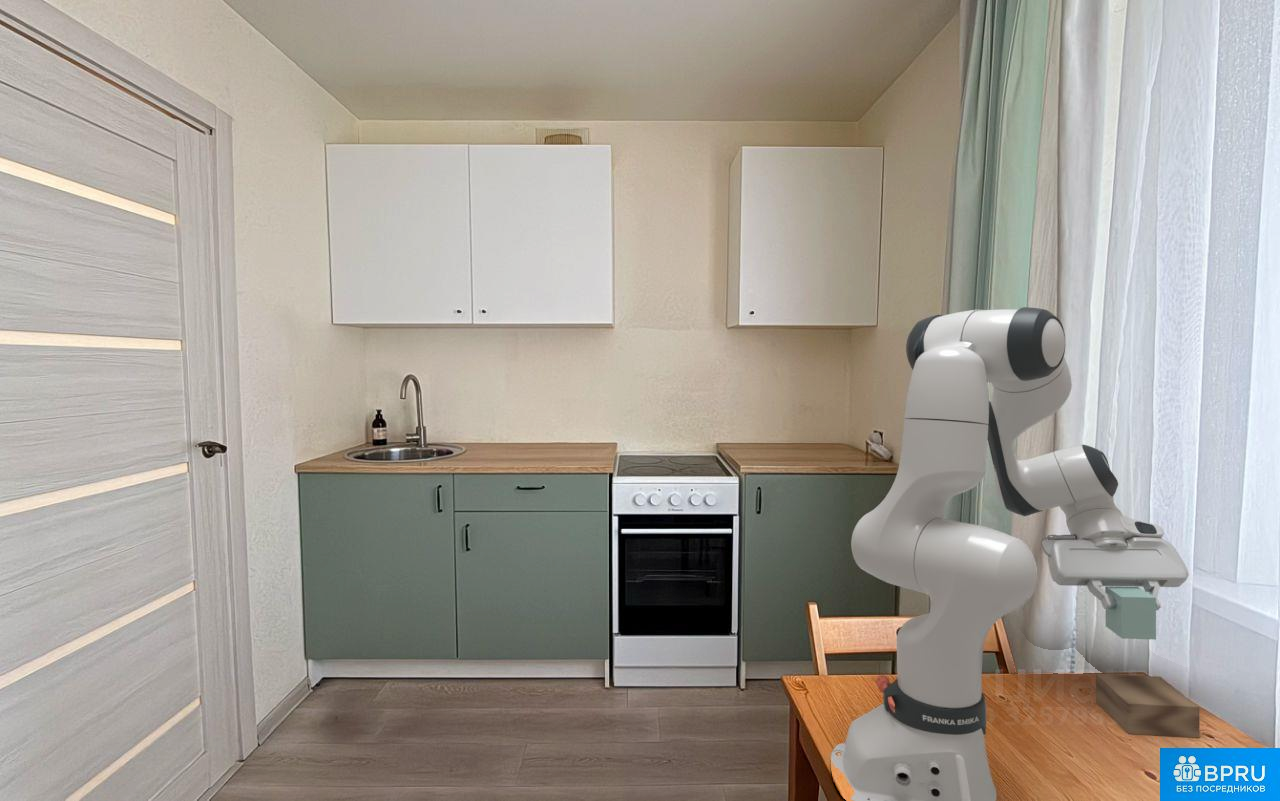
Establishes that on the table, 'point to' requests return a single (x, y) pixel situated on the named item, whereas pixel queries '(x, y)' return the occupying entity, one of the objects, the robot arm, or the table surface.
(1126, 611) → the sage block
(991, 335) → the robot arm
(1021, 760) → the table surface
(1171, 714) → the walnut block
